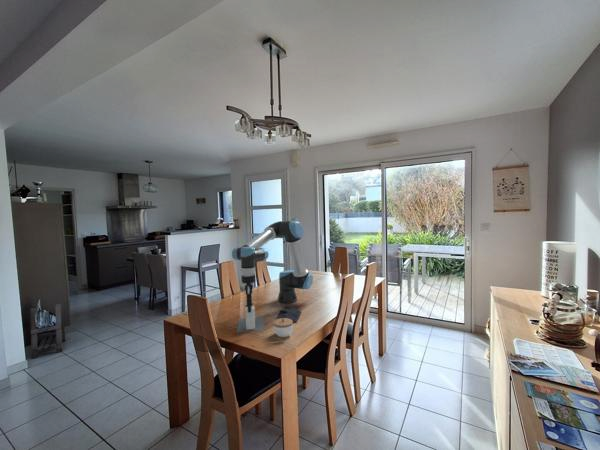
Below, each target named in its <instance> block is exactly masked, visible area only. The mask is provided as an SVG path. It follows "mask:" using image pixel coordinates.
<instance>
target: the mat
mask: <svg viewBox="0 0 600 450" xmlns="http://www.w3.org/2000/svg"><path fill="white" fill-rule="evenodd" d="M236 327H237V328H236V331H235V332H236V334H237V333H238V334H239V333H240V334H241V333H251V332H259V331H266V328H265V327H266V326H265V316H264V315H261V316H255V330H246V317H242V318H241V317H239V318H238V322H237V326H236Z"/></svg>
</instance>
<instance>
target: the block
mask: <svg viewBox="0 0 600 450" xmlns="http://www.w3.org/2000/svg"><path fill="white" fill-rule="evenodd" d="M255 307H256V306H255V305H252V318H247V307H246V306H245V318H246V330H255V317H256V312H255V309H256V308H255Z"/></svg>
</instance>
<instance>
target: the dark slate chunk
mask: <svg viewBox="0 0 600 450" xmlns="http://www.w3.org/2000/svg"><path fill="white" fill-rule="evenodd" d="M301 314H302V310H299V309H298V308H296V307H295V306H291V305H288V304H287V305H286V304H285V306H284V309H280V310H279V312H278V314H277V318H276V320H277V319H280V318H288V319H291V320H292V321H293V324H295V323H298V320H299V319H300V317H301Z"/></svg>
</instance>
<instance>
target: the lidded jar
mask: <svg viewBox="0 0 600 450" xmlns="http://www.w3.org/2000/svg"><path fill="white" fill-rule="evenodd" d="M293 324H294V323H293V321H292V320H291V319H288V318H280V319H277V318H276V319H275V320H273V331H274V333H275V335H276V336H277V337H280V338H287V337H289V336H290V335H291V333H292V331H293V326H294V325H293Z"/></svg>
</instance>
